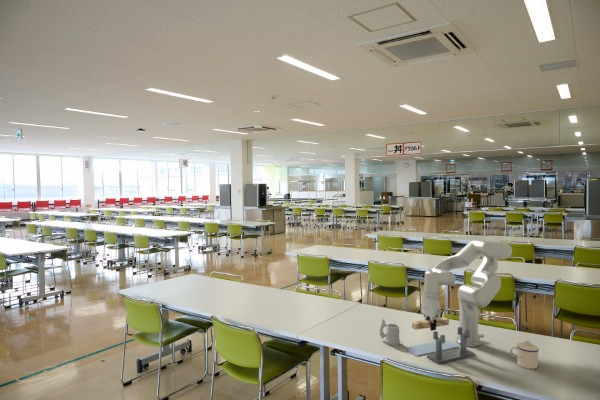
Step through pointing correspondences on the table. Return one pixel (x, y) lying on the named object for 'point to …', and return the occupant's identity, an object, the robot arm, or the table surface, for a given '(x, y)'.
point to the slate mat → (429, 348)
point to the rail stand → (451, 354)
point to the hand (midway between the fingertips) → (430, 328)
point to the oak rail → (429, 323)
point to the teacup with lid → (526, 355)
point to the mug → (390, 333)
